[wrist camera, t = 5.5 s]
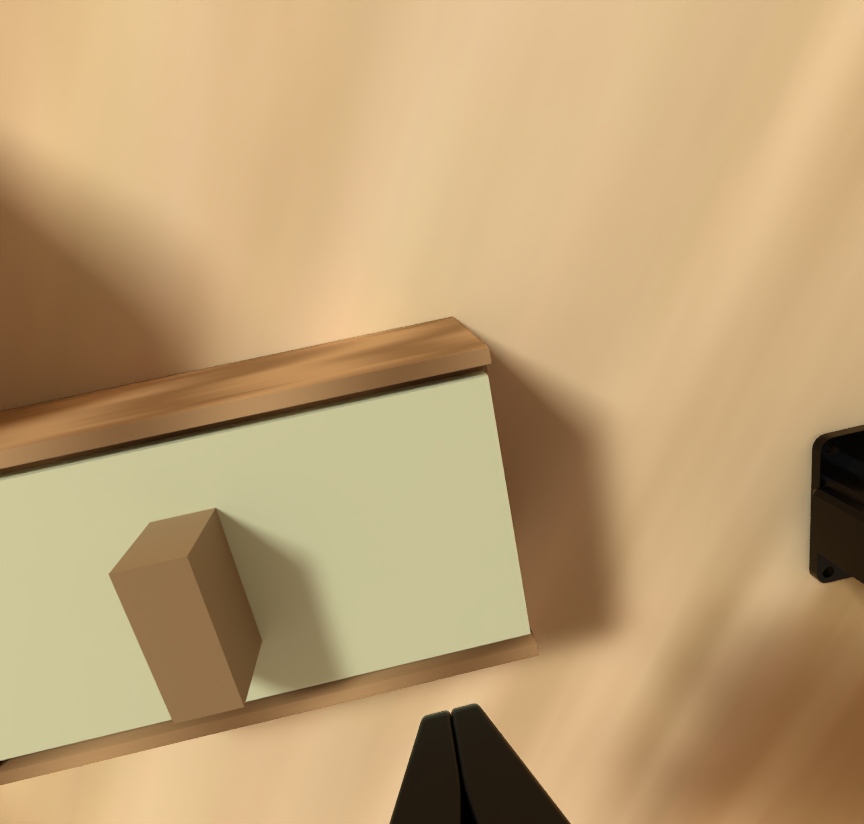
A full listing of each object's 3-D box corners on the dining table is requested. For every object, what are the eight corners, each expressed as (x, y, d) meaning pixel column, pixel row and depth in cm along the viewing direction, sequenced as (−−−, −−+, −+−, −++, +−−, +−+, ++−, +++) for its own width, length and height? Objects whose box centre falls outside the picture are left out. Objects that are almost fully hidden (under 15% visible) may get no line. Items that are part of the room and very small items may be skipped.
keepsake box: (452, 316, 18) (489, 346, 13) (494, 547, 21) (538, 655, 16) (-34, 418, 18) (-219, 497, 12) (74, 644, 20) (-36, 793, 15)
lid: (482, 370, 14) (510, 400, 11) (525, 620, 16) (555, 694, 13) (-135, 502, 13) (-264, 569, 10) (3, 743, 15) (-74, 848, 13)
